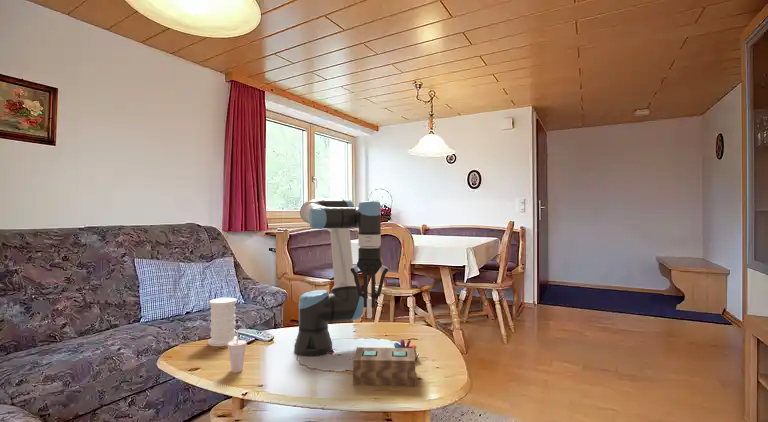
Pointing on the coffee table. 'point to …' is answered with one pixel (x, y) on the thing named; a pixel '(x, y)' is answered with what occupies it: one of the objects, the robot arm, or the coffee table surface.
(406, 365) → the socket block
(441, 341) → the coffee table surface
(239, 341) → the smoothie
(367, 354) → the peg
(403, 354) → the peg
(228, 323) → the decorative container
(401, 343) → the rainbow disc car
